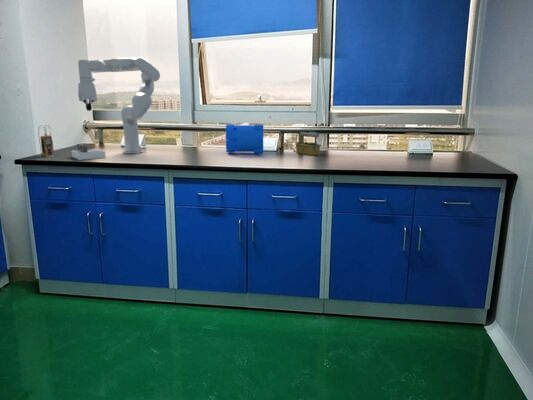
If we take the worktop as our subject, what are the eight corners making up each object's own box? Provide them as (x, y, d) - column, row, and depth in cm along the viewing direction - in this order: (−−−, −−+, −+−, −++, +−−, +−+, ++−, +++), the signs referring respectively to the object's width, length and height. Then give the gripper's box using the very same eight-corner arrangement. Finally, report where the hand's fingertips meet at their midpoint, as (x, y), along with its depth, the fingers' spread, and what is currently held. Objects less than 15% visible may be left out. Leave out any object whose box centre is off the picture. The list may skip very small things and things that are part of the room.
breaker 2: (86, 151, 277) (85, 145, 276) (87, 151, 275) (87, 146, 274) (82, 151, 276) (81, 145, 275) (83, 152, 274) (83, 146, 273)
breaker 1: (81, 149, 286) (80, 143, 285) (82, 149, 284) (81, 144, 284) (77, 149, 285) (76, 144, 284) (78, 150, 283) (77, 144, 282)
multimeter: (52, 158, 279) (48, 126, 274) (38, 157, 281) (34, 125, 276) (67, 155, 293) (64, 124, 288) (53, 154, 295) (50, 124, 290)
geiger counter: (311, 155, 293) (312, 133, 289) (286, 151, 313) (287, 130, 309) (321, 154, 298) (322, 132, 294) (296, 150, 318) (297, 129, 315)
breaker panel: (97, 154, 294) (96, 148, 293) (105, 157, 282) (104, 151, 281) (72, 156, 285) (71, 150, 284) (79, 159, 272) (78, 153, 271)
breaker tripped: (83, 150, 282) (83, 144, 281) (84, 150, 280) (84, 144, 279) (79, 150, 280) (79, 144, 279) (80, 151, 278) (80, 144, 277)
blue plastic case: (225, 154, 297) (225, 125, 292) (227, 150, 318) (227, 123, 313) (263, 154, 297) (263, 125, 293) (262, 150, 318) (262, 123, 314)
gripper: (96, 80, 285) (99, 110, 289) (72, 80, 276) (75, 110, 280) (100, 80, 279) (102, 110, 283) (75, 80, 270) (78, 111, 274)
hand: (89, 110), depth 282 cm, fingers closed
